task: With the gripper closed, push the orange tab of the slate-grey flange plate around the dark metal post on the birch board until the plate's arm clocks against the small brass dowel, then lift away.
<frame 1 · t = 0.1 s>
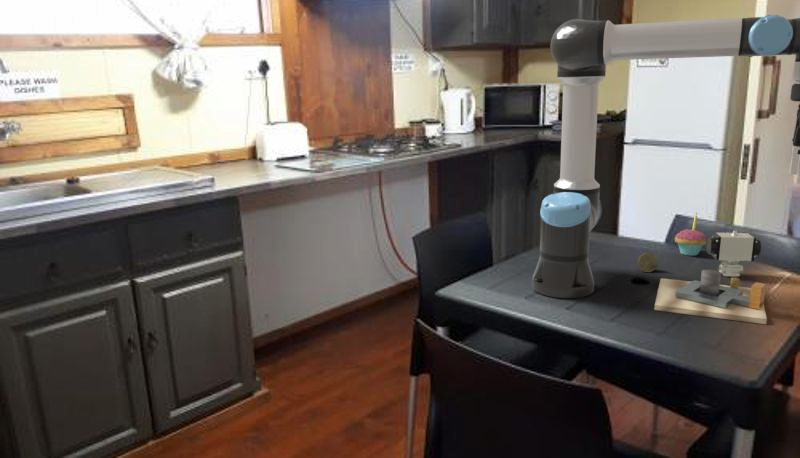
hand: (799, 179, 139), 28 cm above the table, fingers open, 13 cm apart
post board: (708, 301, 144), on the table
flange plate: (722, 288, 141), point 4 cm above the table, hinge at 0.0°
pneumatic valve: (729, 275, 162), on the table
cupcake: (689, 254, 181), on the table
lime: (646, 271, 167), on the table
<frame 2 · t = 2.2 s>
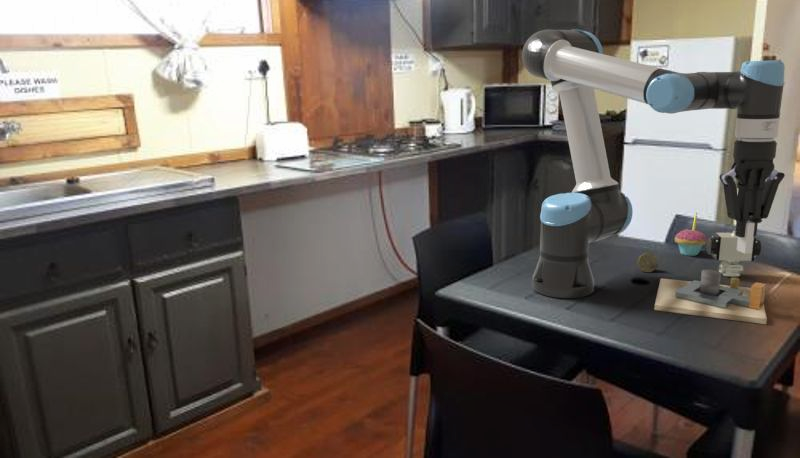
hand: (744, 251, 131), 15 cm above the table, fingers closed
nothing on the table moved.
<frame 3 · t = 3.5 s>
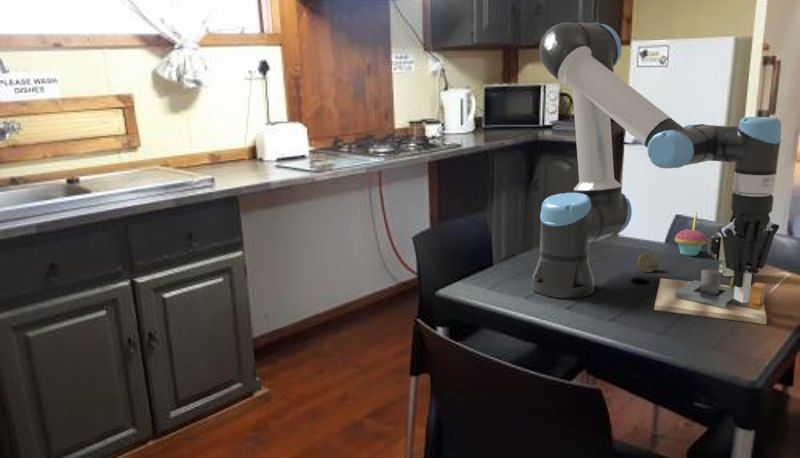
hand: (741, 300, 134), 4 cm above the table, fingers closed
nothing on the table moved.
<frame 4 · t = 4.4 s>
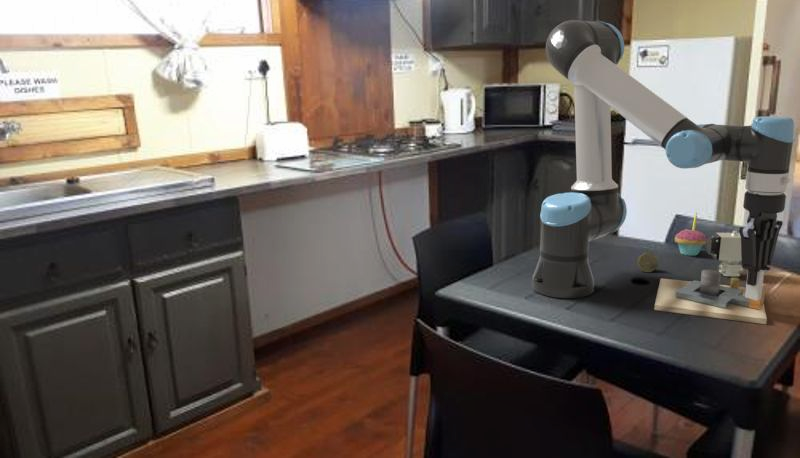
hand: (752, 298, 135), 4 cm above the table, fingers closed
flange plate: (722, 288, 141), point 4 cm above the table, hinge at 0.0°, touching gripper
everything else where it was.
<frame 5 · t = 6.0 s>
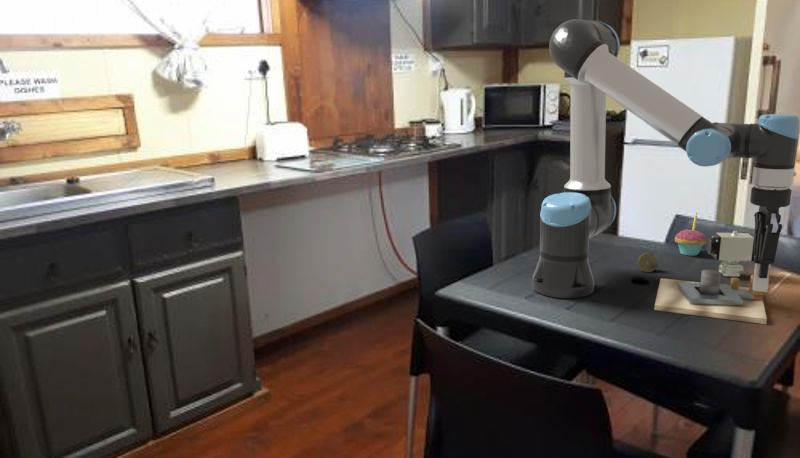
hand: (759, 290, 139), 4 cm above the table, fingers closed
flange plate: (722, 286, 143), point 4 cm above the table, hinge at 35.6°, touching gripper
everything else where it was.
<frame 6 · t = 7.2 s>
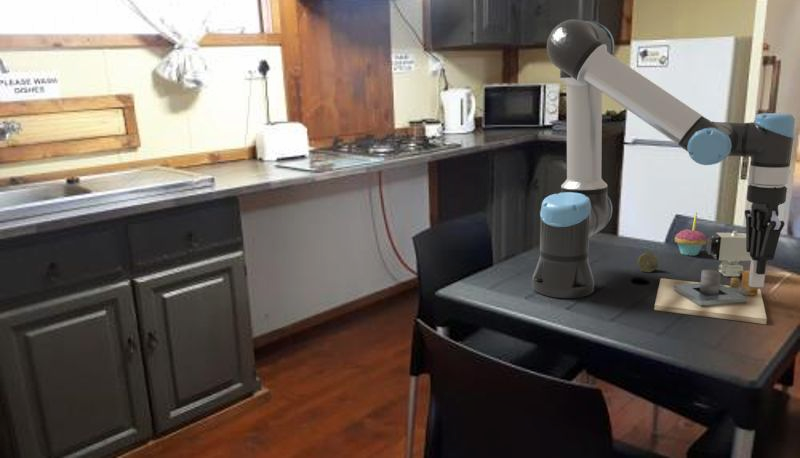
hand: (755, 285, 142), 4 cm above the table, fingers closed
flange plate: (721, 284, 144), point 4 cm above the table, hinge at 52.8°, touching gripper
everything else where it was.
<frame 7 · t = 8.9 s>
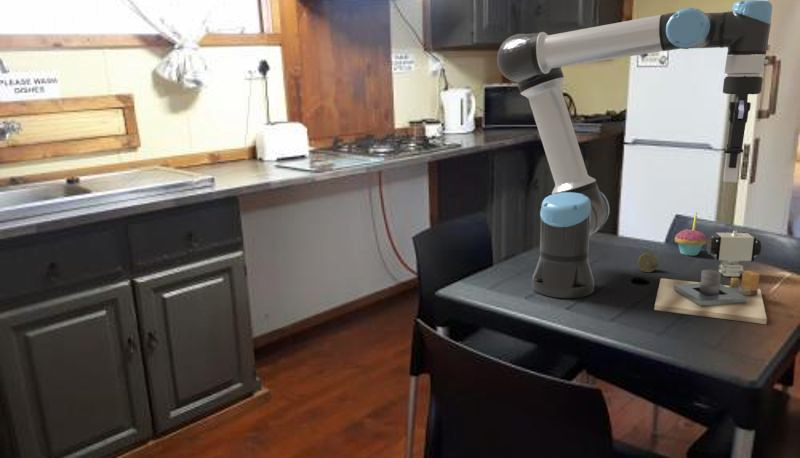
hand: (729, 181, 142), 27 cm above the table, fingers closed
flange plate: (721, 284, 144), point 4 cm above the table, hinge at 52.8°
everything else where it was.
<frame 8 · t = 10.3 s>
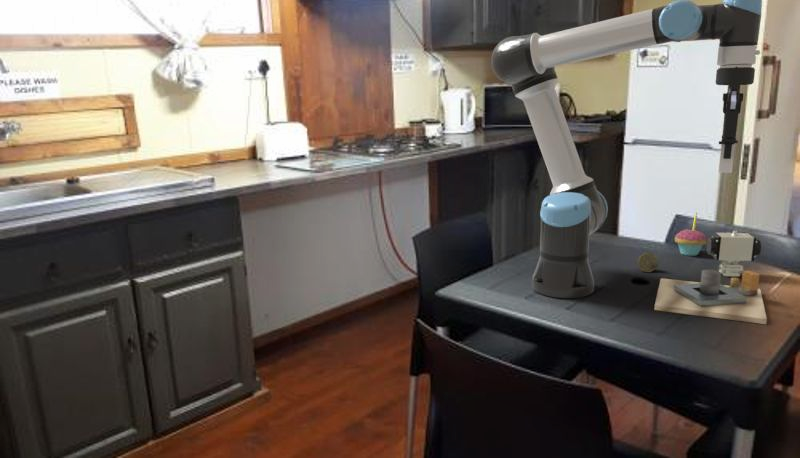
hand: (725, 172, 143), 29 cm above the table, fingers closed
nothing on the table moved.
at the end: flange plate at +53° (first picture: +0°); flange plate touching nothing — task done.
